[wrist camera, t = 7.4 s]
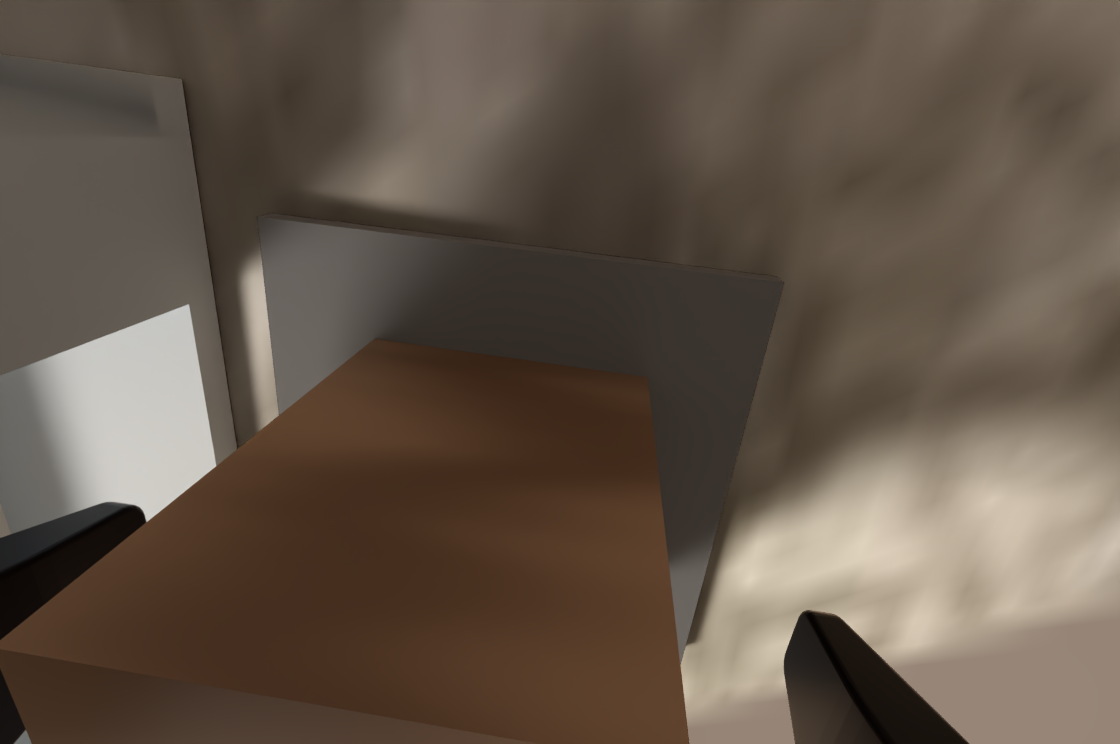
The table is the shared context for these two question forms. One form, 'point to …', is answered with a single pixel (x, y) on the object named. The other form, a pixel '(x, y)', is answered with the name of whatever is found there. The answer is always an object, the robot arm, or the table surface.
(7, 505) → the access box
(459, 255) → the rubber mat
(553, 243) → the table surface
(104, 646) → the walnut block
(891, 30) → the table surface
